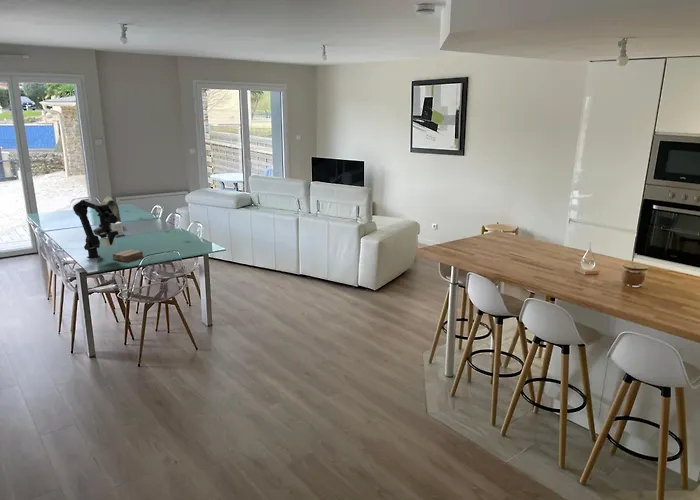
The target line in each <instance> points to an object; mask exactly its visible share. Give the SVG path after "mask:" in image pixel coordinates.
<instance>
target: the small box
mask: <svg viewBox="0 0 700 500" xmlns="http://www.w3.org/2000/svg"><path fill="white" fill-rule="evenodd" d="M111 229H112V231H113V230H115V231H118V234H119V235H116V236H117V237H118V236H121V235H125V232H124V225H123V222H122V221H121V222H116V223H115V224H112V223H111ZM116 236H115V237H116Z"/></svg>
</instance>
